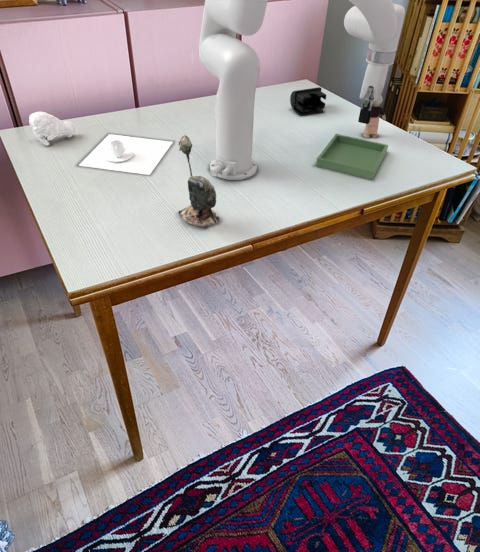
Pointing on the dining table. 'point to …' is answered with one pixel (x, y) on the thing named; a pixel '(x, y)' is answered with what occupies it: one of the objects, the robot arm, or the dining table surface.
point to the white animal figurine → (49, 126)
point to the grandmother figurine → (374, 119)
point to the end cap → (307, 101)
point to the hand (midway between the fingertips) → (367, 116)
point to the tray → (352, 156)
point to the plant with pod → (198, 195)
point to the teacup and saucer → (127, 154)
